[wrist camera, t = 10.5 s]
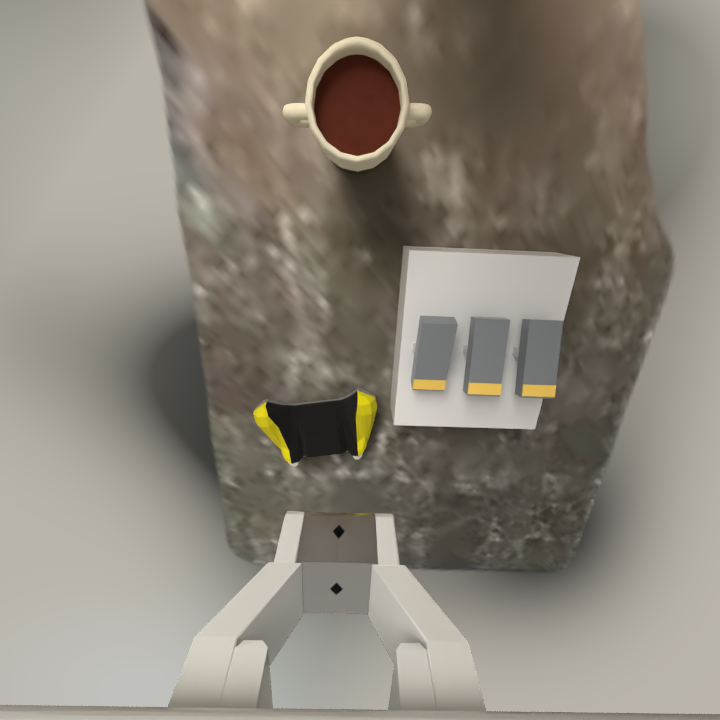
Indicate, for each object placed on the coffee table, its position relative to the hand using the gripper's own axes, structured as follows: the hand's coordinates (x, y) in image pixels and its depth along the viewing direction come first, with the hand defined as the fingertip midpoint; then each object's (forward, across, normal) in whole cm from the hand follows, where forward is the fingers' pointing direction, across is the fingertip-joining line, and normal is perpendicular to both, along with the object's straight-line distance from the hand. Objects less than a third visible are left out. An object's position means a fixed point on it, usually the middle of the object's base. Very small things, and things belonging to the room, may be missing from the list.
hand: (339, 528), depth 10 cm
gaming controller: (+34, +4, +17) cm, 39 cm away
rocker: (+27, -14, +5) cm, 31 cm away
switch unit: (+34, -14, +5) cm, 37 cm away
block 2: (+27, -20, +5) cm, 34 cm away
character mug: (+34, 0, -15) cm, 37 cm away
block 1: (+27, -8, +5) cm, 29 cm away
